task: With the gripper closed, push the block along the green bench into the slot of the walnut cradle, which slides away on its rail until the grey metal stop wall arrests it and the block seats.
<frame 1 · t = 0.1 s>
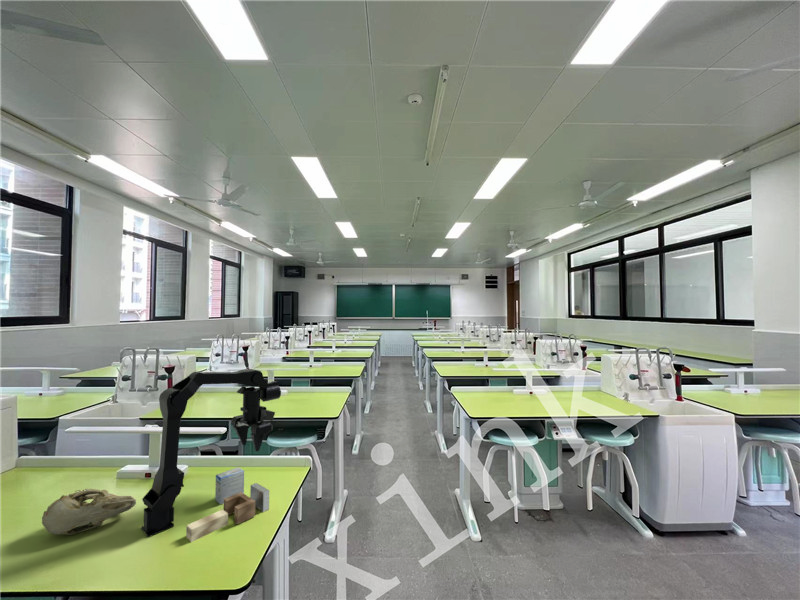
hand: (250, 448, 124), 15 cm above the table, fingers open, 9 cm apart
stop wall: (259, 506, 112), on the table
block: (207, 531, 99), on the table
skull: (90, 526, 102), on the table
cradle: (239, 507, 107), point 3 cm above the table, slide at 0.0 cm
medicine box: (229, 498, 117), on the table
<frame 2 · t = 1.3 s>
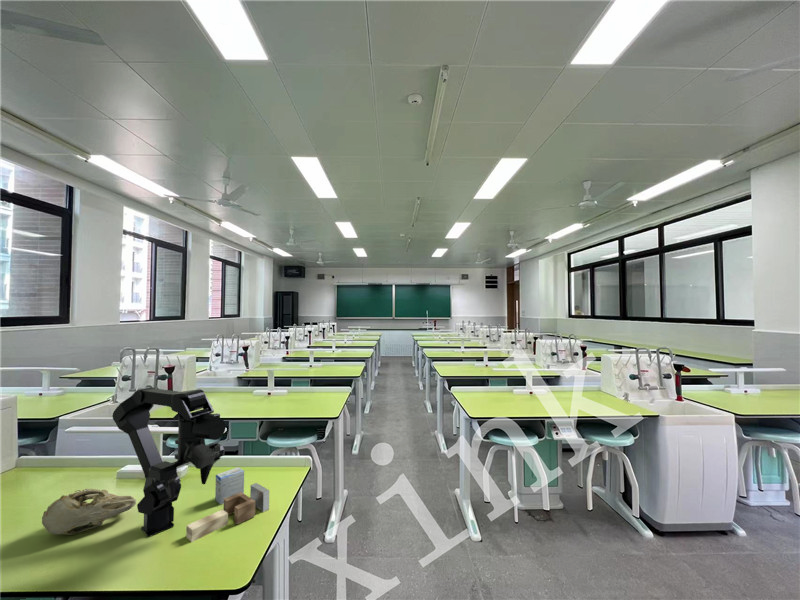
hand: (188, 491, 98), 12 cm above the table, fingers open, 9 cm apart
nothing on the table moved.
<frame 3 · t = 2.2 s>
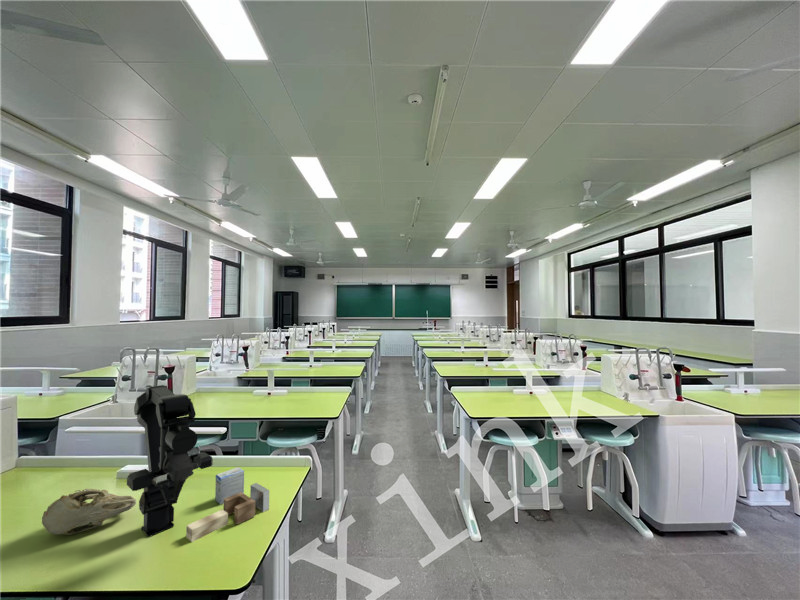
hand: (171, 502, 93), 12 cm above the table, fingers closed
nothing on the table moved.
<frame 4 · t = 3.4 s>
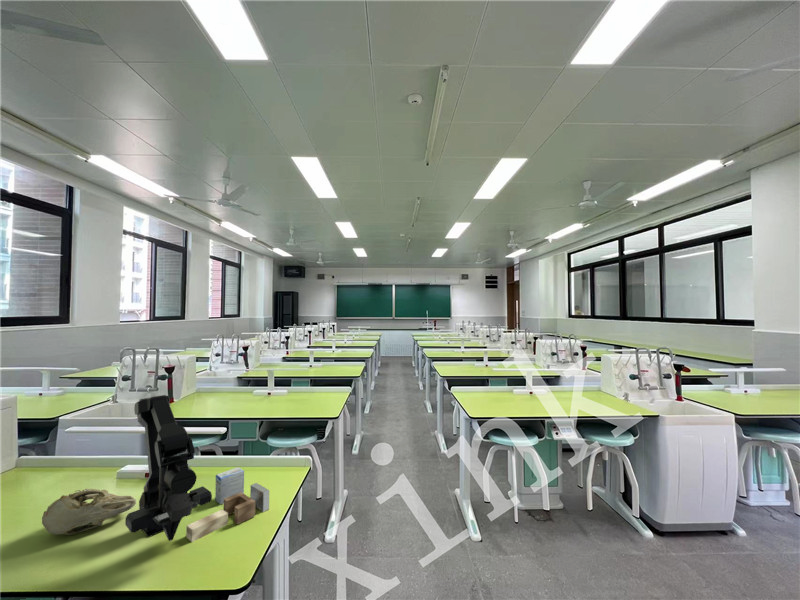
hand: (170, 539, 92), 2 cm above the table, fingers closed
nothing on the table moved.
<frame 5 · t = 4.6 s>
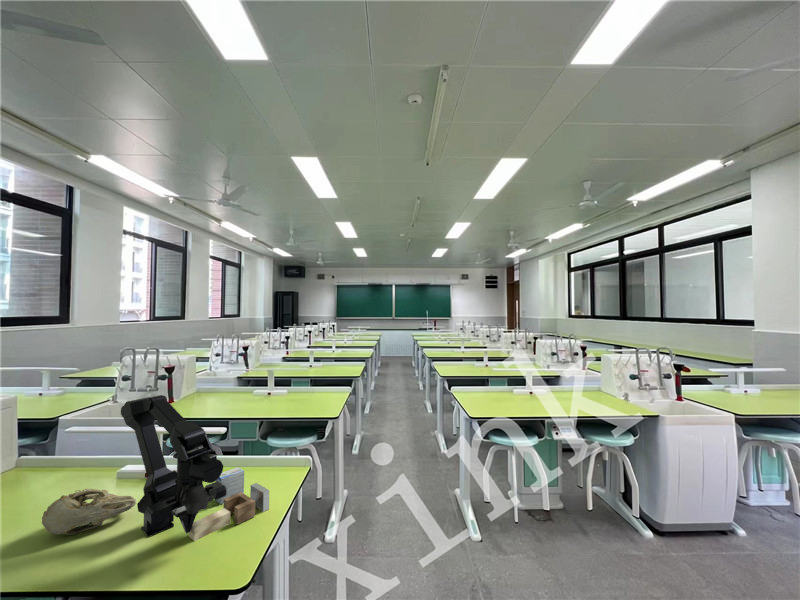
hand: (187, 532, 95), 2 cm above the table, fingers closed
nothing on the table moved.
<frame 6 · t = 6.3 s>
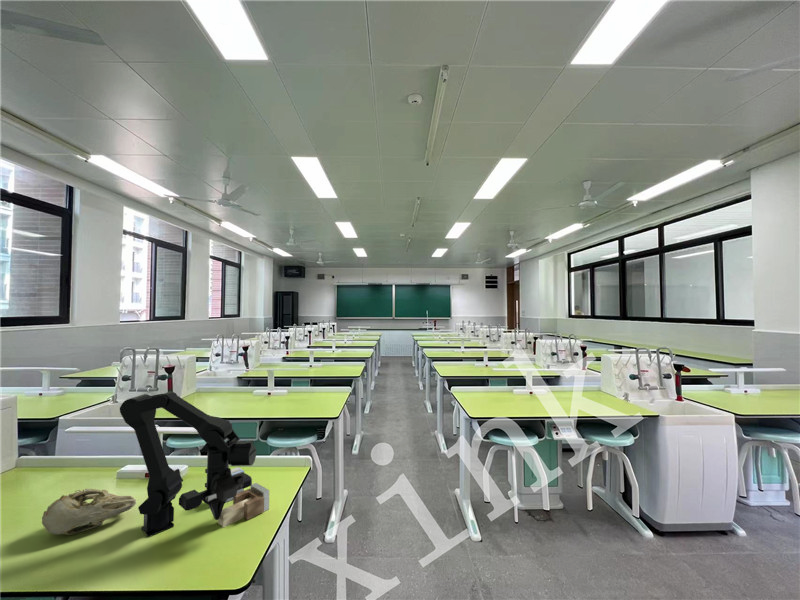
hand: (216, 519, 101), 2 cm above the table, fingers closed
block: (237, 517, 106), on the table, touching cradle, gripper
cradle: (248, 503, 109), point 3 cm above the table, slide at 3.0 cm, touching block, stop wall
everything else where it was.
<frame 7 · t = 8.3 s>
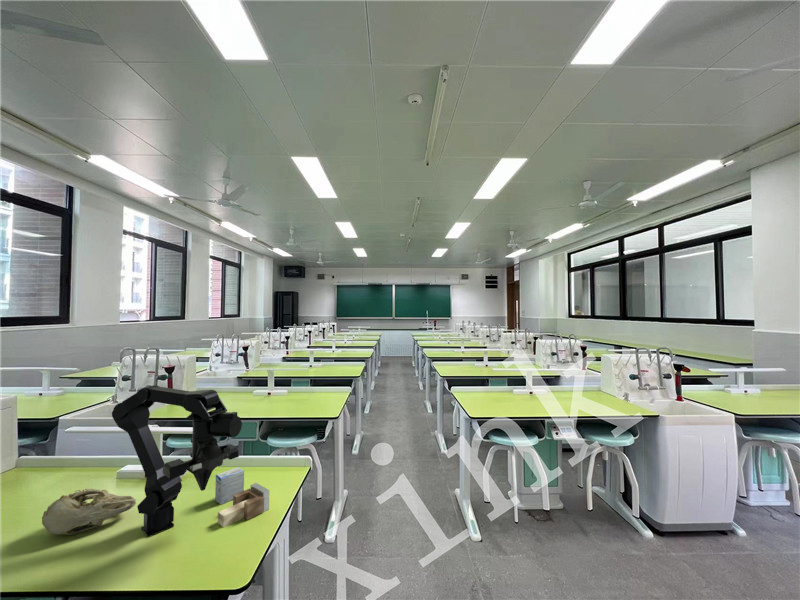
hand: (202, 490, 99), 12 cm above the table, fingers closed
block: (237, 518, 106), on the table
cradle: (248, 503, 109), point 3 cm above the table, slide at 3.0 cm, touching stop wall
everything else where it was.
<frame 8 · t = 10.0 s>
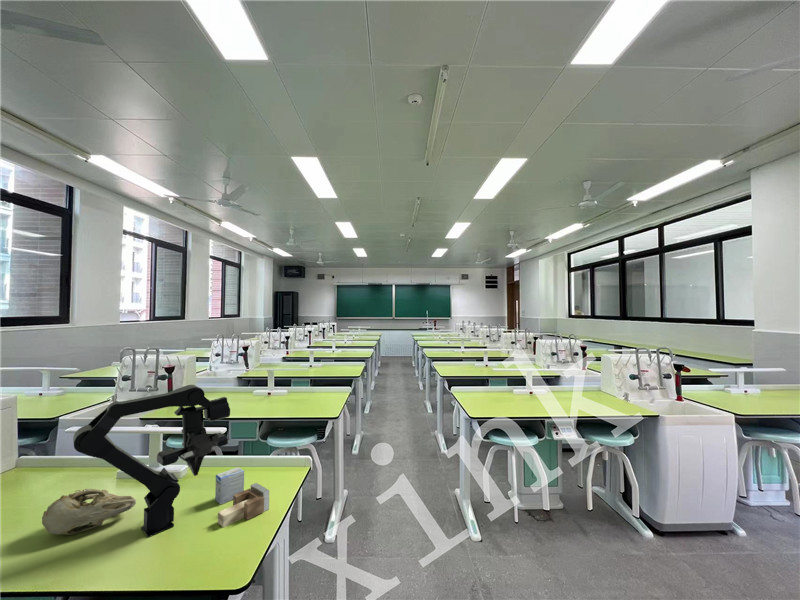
hand: (195, 475, 108), 12 cm above the table, fingers closed
nothing on the table moved.
at the end: cradle slide at 3.0 cm; block 0.6 cm from the target spot on the cradle, point 0.0 cm above the cradle's base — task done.
